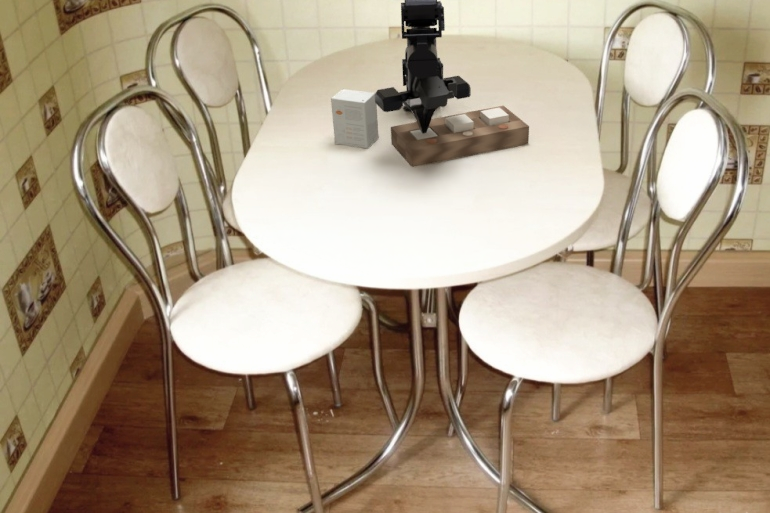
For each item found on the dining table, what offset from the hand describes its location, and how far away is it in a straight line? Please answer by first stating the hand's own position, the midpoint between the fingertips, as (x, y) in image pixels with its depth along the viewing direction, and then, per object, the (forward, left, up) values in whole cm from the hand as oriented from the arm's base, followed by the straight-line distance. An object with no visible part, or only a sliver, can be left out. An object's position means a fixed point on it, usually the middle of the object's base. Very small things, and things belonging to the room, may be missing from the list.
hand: (423, 132), depth 196 cm
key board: (+5, +6, -4) cm, 9 cm away
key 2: (+10, +13, -2) cm, 16 cm away
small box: (-15, -3, -4) cm, 16 cm away
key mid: (+5, +6, -2) cm, 8 cm away
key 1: (0, 0, -3) cm, 3 cm away
